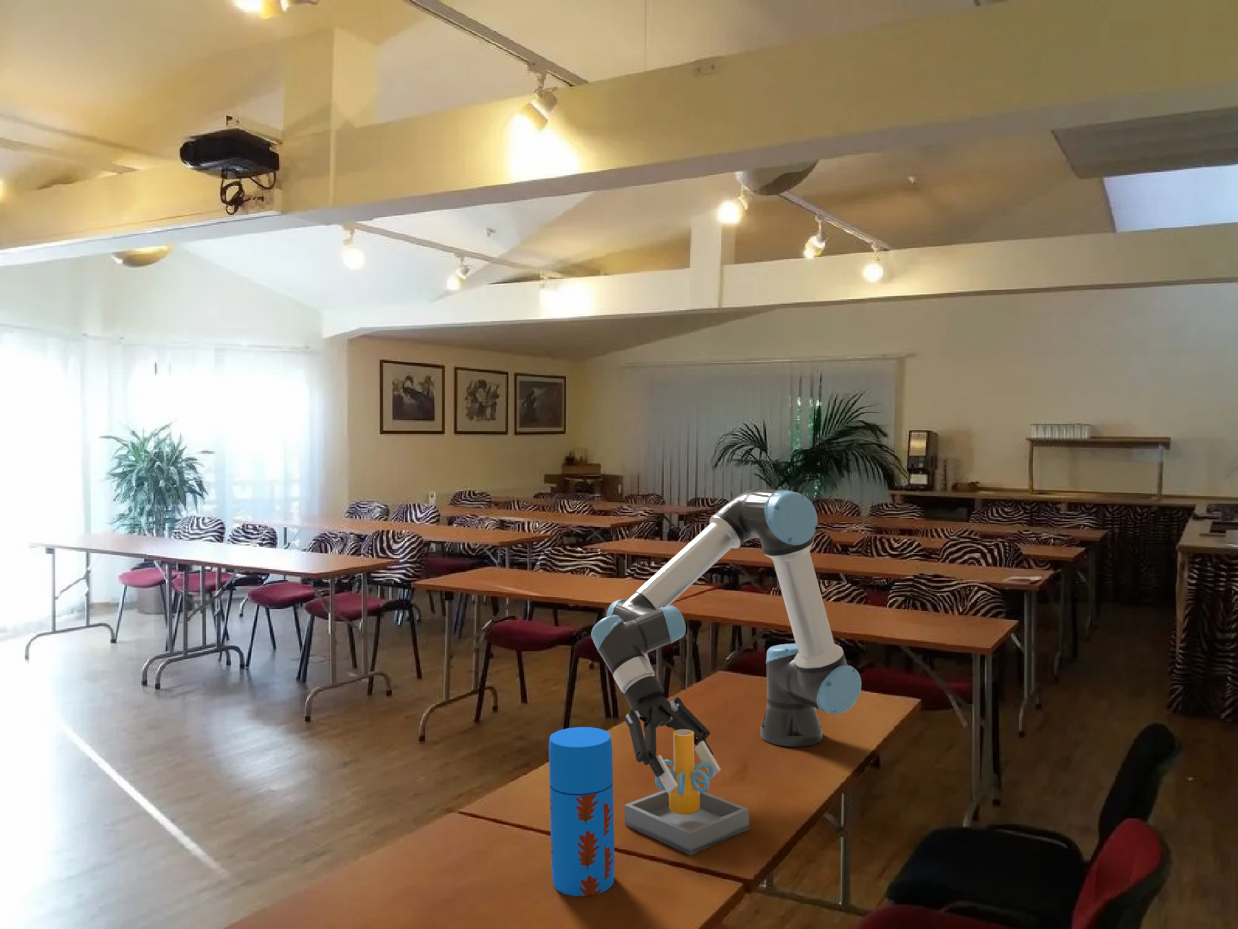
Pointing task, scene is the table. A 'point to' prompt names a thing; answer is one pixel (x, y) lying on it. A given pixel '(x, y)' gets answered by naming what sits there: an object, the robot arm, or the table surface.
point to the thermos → (581, 810)
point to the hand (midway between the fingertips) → (695, 781)
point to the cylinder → (685, 775)
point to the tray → (687, 821)
